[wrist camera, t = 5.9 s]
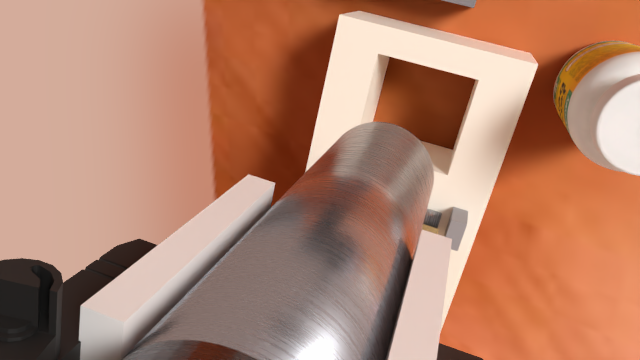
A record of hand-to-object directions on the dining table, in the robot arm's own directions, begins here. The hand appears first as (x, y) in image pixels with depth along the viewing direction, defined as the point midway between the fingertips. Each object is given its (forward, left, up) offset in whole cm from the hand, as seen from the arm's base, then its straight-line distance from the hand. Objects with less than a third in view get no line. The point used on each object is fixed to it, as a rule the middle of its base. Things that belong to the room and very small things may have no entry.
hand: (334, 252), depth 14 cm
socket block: (+5, 0, -21) cm, 21 cm away
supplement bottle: (-3, +9, -21) cm, 23 cm away
